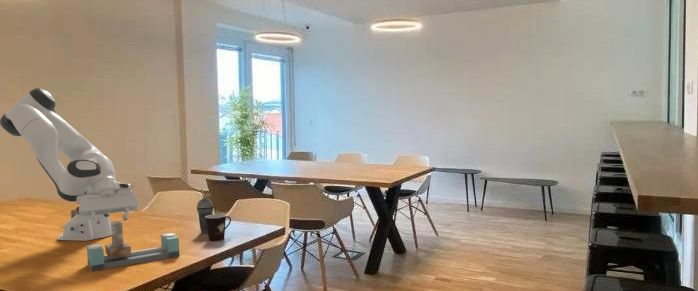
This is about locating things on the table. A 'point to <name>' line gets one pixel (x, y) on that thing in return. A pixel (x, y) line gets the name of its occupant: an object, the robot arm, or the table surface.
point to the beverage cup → (204, 212)
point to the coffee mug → (216, 226)
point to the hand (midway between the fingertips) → (111, 221)
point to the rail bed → (133, 254)
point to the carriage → (117, 242)
